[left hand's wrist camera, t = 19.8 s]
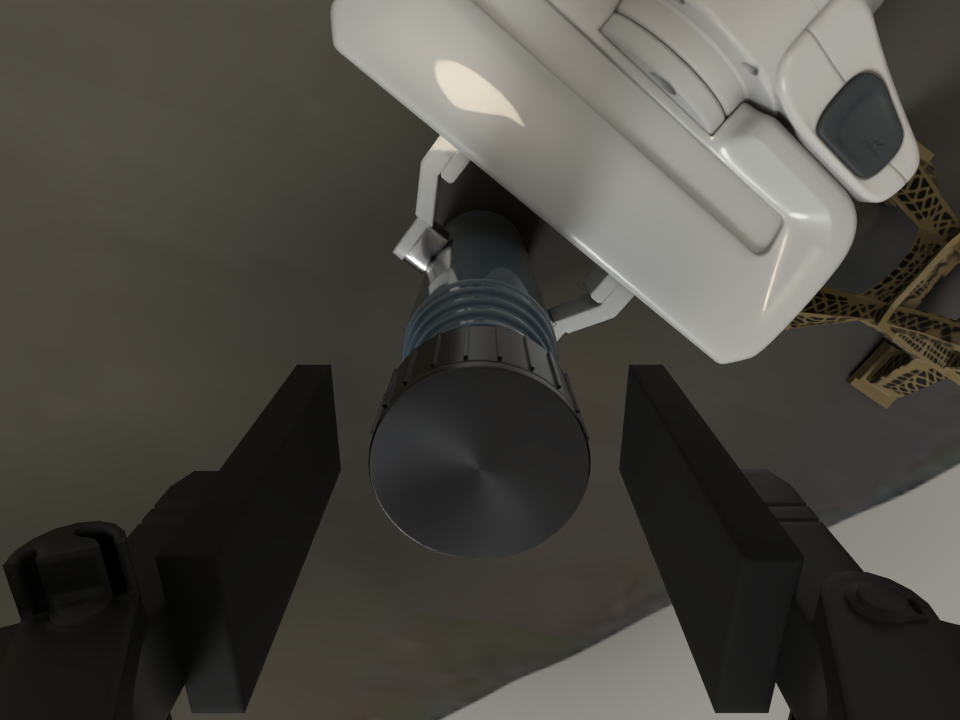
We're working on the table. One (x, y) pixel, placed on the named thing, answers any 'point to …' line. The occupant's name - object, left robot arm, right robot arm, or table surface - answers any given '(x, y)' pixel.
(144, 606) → the left robot arm
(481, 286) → the bottle
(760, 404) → the table surface
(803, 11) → the right robot arm
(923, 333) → the eiffel tower
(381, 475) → the cap
